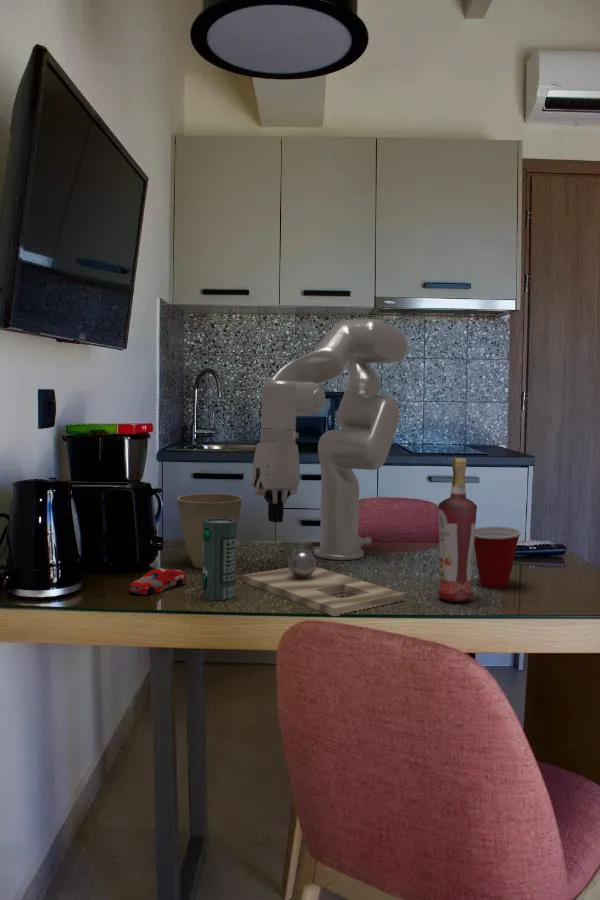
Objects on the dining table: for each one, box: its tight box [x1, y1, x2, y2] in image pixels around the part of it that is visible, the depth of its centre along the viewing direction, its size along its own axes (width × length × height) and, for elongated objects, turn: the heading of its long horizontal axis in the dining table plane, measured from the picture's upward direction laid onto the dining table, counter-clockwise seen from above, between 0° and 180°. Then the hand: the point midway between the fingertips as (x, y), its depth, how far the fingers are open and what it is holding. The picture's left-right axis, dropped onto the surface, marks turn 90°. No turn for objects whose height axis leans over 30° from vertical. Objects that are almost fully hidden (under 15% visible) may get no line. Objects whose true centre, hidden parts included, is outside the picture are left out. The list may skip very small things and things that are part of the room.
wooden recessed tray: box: [241, 566, 405, 617], centre depth 147 cm, size 30×18×2 cm, turn 38°
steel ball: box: [287, 548, 317, 578], centre depth 152 cm, size 6×6×6 cm
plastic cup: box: [474, 525, 522, 589], centre depth 155 cm, size 11×11×12 cm
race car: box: [129, 567, 187, 596], centre depth 147 cm, size 13×5×4 cm, turn 143°
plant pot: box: [176, 493, 243, 570], centre depth 168 cm, size 15×15×16 cm
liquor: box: [436, 457, 478, 604], centre depth 142 cm, size 7×7×28 cm
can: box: [202, 518, 237, 601], centre depth 142 cm, size 6×6×15 cm
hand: (275, 521), depth 158 cm, fingers closed
